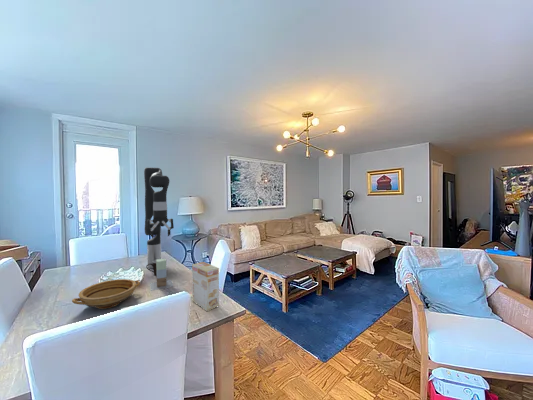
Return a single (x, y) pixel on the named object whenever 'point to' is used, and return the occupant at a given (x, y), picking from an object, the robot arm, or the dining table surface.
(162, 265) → the brick sage
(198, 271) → the coffeecake box
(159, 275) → the brick slate
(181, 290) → the dining table surface
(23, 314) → the dining table surface
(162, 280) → the brick base
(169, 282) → the build plate
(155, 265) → the coffee mug
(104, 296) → the ceramic bowl
